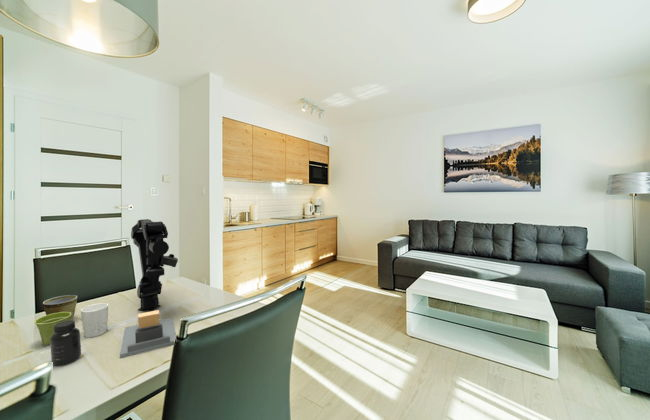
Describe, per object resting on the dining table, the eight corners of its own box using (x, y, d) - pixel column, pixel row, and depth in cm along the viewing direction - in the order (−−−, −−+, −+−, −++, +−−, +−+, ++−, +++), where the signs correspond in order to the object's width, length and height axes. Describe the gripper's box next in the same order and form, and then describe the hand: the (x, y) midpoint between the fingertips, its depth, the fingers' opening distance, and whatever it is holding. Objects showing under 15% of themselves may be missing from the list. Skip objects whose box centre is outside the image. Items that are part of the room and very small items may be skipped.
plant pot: (39, 351, 90) (38, 326, 90) (32, 343, 95) (30, 319, 95) (76, 339, 98) (75, 315, 98) (67, 331, 103) (66, 309, 103)
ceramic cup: (83, 320, 112) (82, 297, 112) (51, 331, 103) (49, 306, 103) (67, 314, 118) (66, 292, 117) (35, 324, 109) (34, 300, 108)
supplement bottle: (64, 354, 89) (62, 318, 88) (86, 353, 90) (85, 318, 89) (44, 367, 82) (42, 329, 82) (68, 366, 83) (67, 328, 82)
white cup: (113, 329, 105) (113, 304, 105) (90, 340, 98) (89, 313, 97) (100, 326, 108) (99, 301, 107) (76, 336, 100) (75, 309, 100)
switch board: (125, 330, 105) (124, 317, 105) (172, 320, 113) (172, 308, 113) (120, 358, 87) (119, 342, 87) (176, 343, 96) (176, 329, 96)
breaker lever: (137, 327, 95) (136, 314, 92) (160, 322, 99) (160, 309, 95) (137, 331, 94) (136, 317, 91) (160, 326, 98) (160, 313, 94)
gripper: (178, 253, 111) (178, 290, 112) (174, 246, 126) (175, 278, 127) (145, 256, 105) (146, 296, 106) (146, 248, 120) (147, 282, 121)
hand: (155, 287), depth 115 cm, fingers closed
